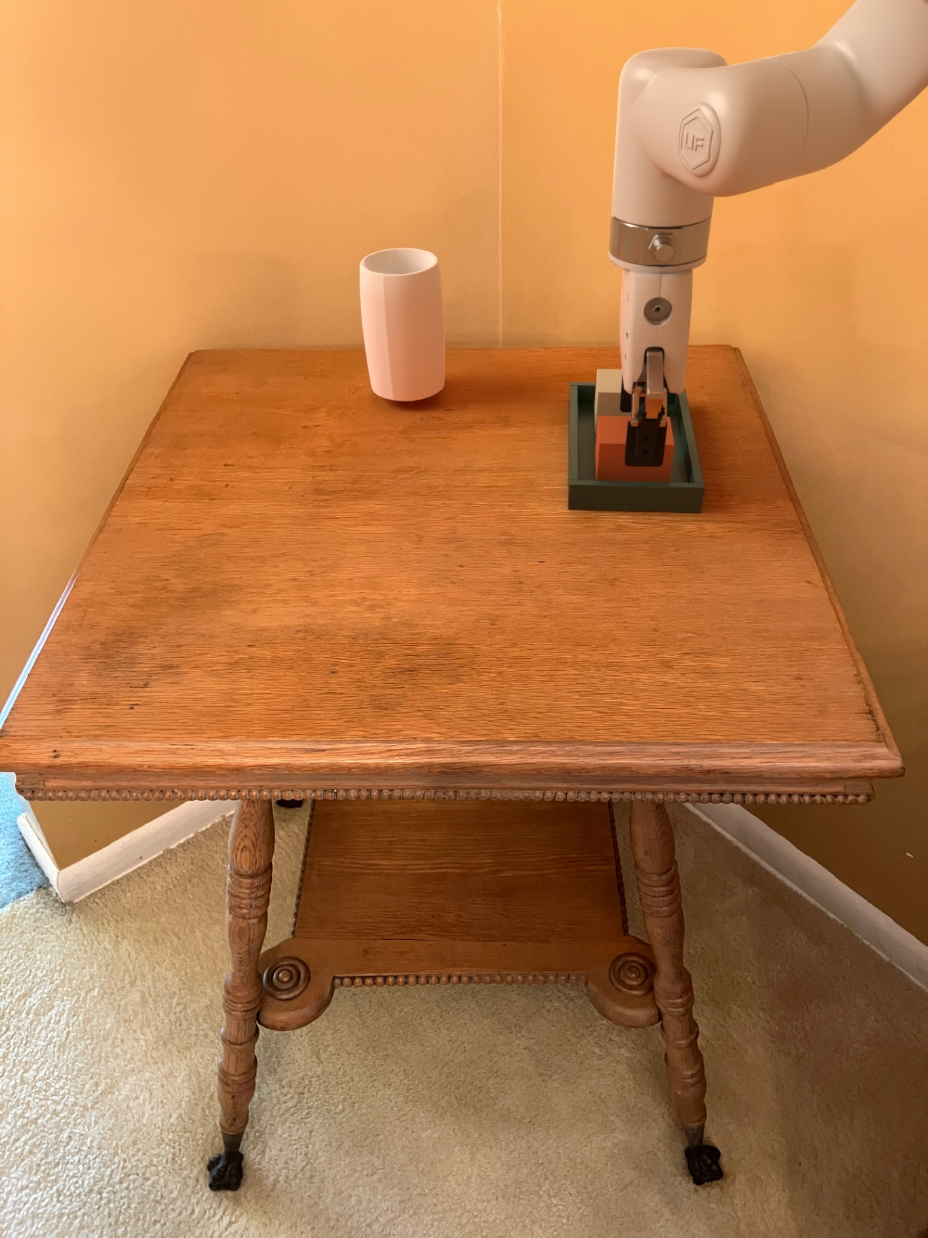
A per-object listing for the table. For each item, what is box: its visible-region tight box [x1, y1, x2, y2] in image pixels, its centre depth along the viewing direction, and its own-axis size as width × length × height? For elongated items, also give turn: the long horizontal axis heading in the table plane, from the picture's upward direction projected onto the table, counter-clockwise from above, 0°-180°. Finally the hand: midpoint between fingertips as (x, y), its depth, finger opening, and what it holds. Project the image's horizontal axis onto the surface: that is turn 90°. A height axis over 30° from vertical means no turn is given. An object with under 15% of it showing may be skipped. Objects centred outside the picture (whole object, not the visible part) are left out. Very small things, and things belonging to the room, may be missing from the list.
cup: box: [359, 247, 446, 402], centre depth 94 cm, size 8×8×14 cm
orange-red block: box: [595, 416, 675, 482], centre depth 83 cm, size 5×6×4 cm
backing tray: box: [567, 381, 706, 514], centre depth 87 cm, size 20×12×3 cm, turn 175°
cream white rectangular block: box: [594, 368, 631, 434], centre depth 90 cm, size 5×6×4 cm
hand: (639, 436), depth 81 cm, fingers open, 9 cm apart
